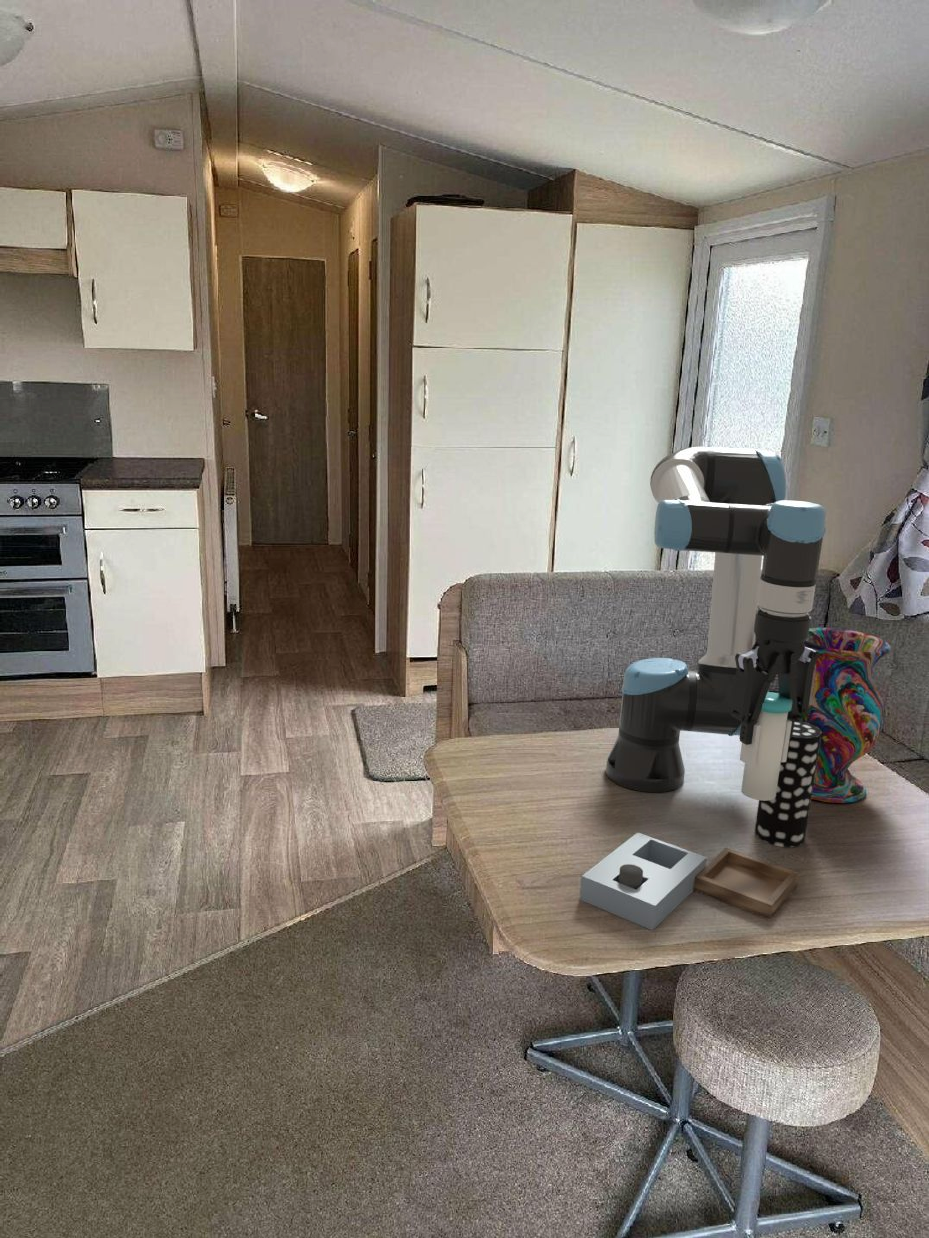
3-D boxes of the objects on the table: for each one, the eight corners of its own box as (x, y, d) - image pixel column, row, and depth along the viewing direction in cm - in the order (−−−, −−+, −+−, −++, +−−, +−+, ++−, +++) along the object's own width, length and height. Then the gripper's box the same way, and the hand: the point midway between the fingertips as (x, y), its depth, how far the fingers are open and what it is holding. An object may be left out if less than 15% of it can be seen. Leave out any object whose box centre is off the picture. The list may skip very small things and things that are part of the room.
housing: (579, 899, 141) (581, 875, 140) (635, 854, 155) (637, 832, 154) (652, 930, 134) (655, 905, 133) (703, 879, 148) (706, 857, 147)
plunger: (613, 897, 140) (615, 870, 139) (623, 888, 143) (626, 861, 142) (633, 906, 138) (636, 878, 137) (644, 896, 141) (647, 869, 140)
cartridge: (753, 803, 139) (767, 706, 135) (730, 786, 144) (743, 693, 140) (786, 799, 140) (800, 703, 136) (762, 783, 146) (775, 690, 142)
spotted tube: (804, 829, 166) (821, 724, 161) (804, 851, 159) (822, 741, 154) (755, 820, 169) (770, 716, 164) (753, 841, 161) (768, 732, 156)
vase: (823, 814, 173) (848, 658, 165) (751, 774, 188) (771, 630, 180) (891, 797, 181) (918, 648, 173) (817, 760, 197) (839, 622, 189)
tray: (693, 890, 145) (695, 876, 145) (723, 860, 155) (725, 847, 154) (769, 919, 138) (771, 905, 138) (796, 886, 148) (798, 873, 147)
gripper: (750, 621, 128) (729, 778, 134) (851, 613, 135) (827, 763, 141) (716, 607, 134) (697, 758, 141) (814, 600, 141) (792, 744, 148)
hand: (762, 760), depth 141 cm, fingers closed on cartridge, 5 cm apart
